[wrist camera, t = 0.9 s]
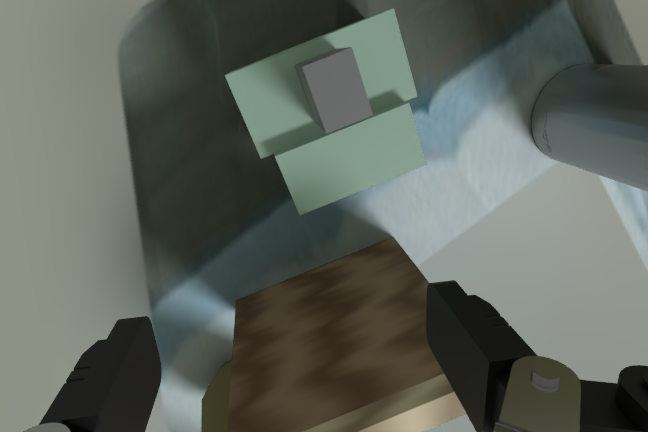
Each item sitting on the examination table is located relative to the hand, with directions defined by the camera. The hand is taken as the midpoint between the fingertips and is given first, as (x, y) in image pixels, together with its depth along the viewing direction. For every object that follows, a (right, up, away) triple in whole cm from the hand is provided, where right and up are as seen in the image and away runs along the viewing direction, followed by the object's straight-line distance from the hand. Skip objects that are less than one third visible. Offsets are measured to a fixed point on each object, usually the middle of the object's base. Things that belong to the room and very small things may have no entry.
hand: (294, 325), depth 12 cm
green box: (+1, +13, +25) cm, 28 cm away
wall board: (+1, -5, +32) cm, 32 cm away
